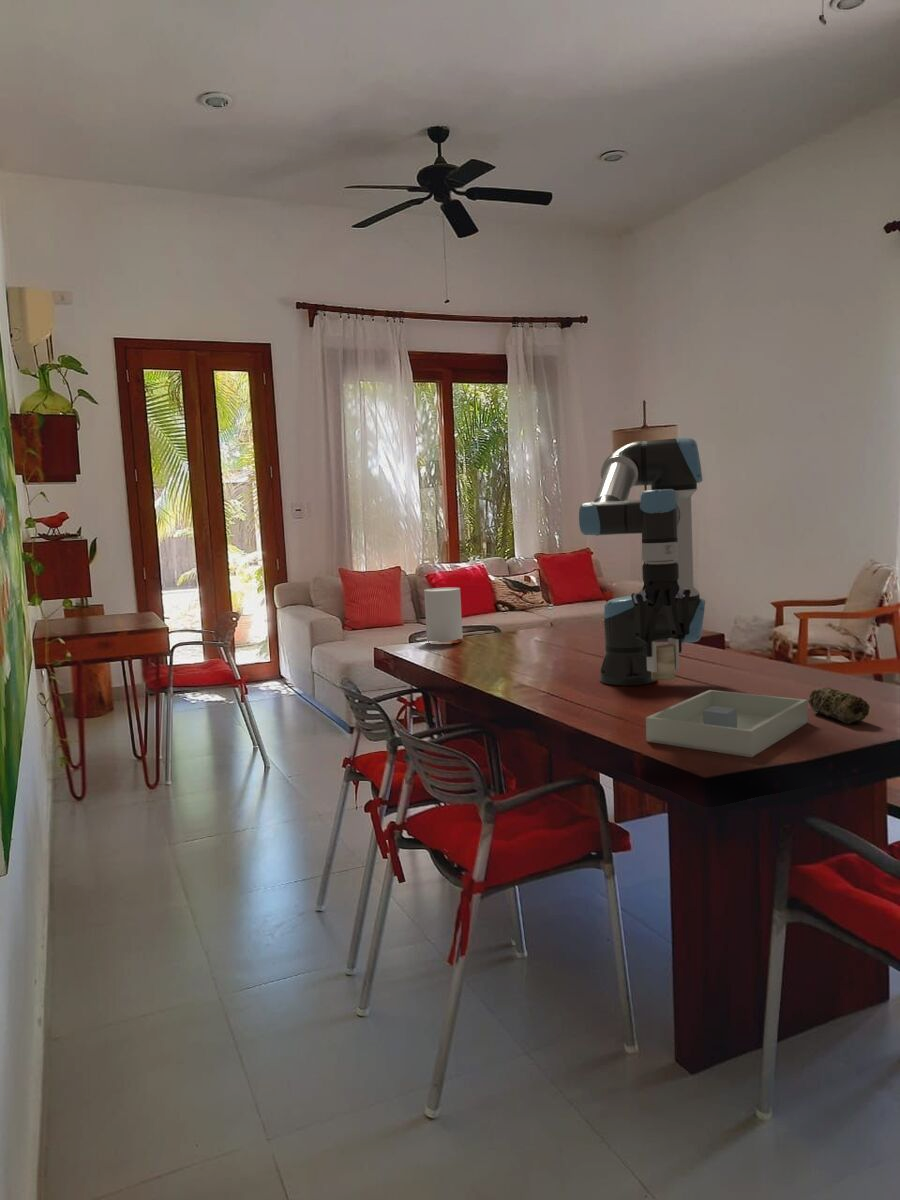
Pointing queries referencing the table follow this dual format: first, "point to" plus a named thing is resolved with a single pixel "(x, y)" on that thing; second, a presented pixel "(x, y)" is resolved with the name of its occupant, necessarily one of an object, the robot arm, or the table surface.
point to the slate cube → (720, 716)
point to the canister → (443, 614)
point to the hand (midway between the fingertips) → (663, 669)
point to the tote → (755, 727)
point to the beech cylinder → (664, 663)
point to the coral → (839, 705)
